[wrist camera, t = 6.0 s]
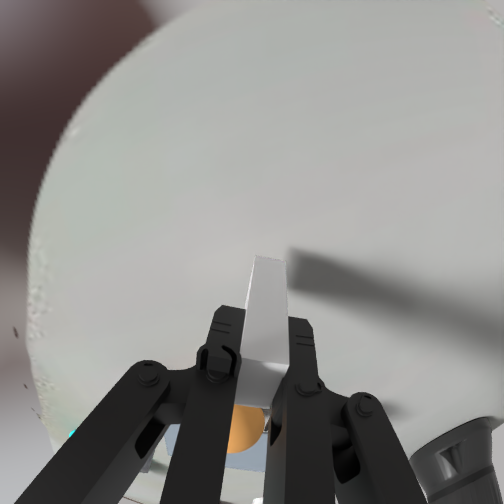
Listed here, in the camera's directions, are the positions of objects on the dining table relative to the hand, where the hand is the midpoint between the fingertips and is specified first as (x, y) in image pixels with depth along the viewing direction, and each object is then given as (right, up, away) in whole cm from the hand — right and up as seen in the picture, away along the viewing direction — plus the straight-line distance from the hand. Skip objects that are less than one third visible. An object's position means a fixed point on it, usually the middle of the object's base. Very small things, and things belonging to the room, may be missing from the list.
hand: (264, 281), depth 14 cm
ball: (-2, -12, +5) cm, 13 cm away
